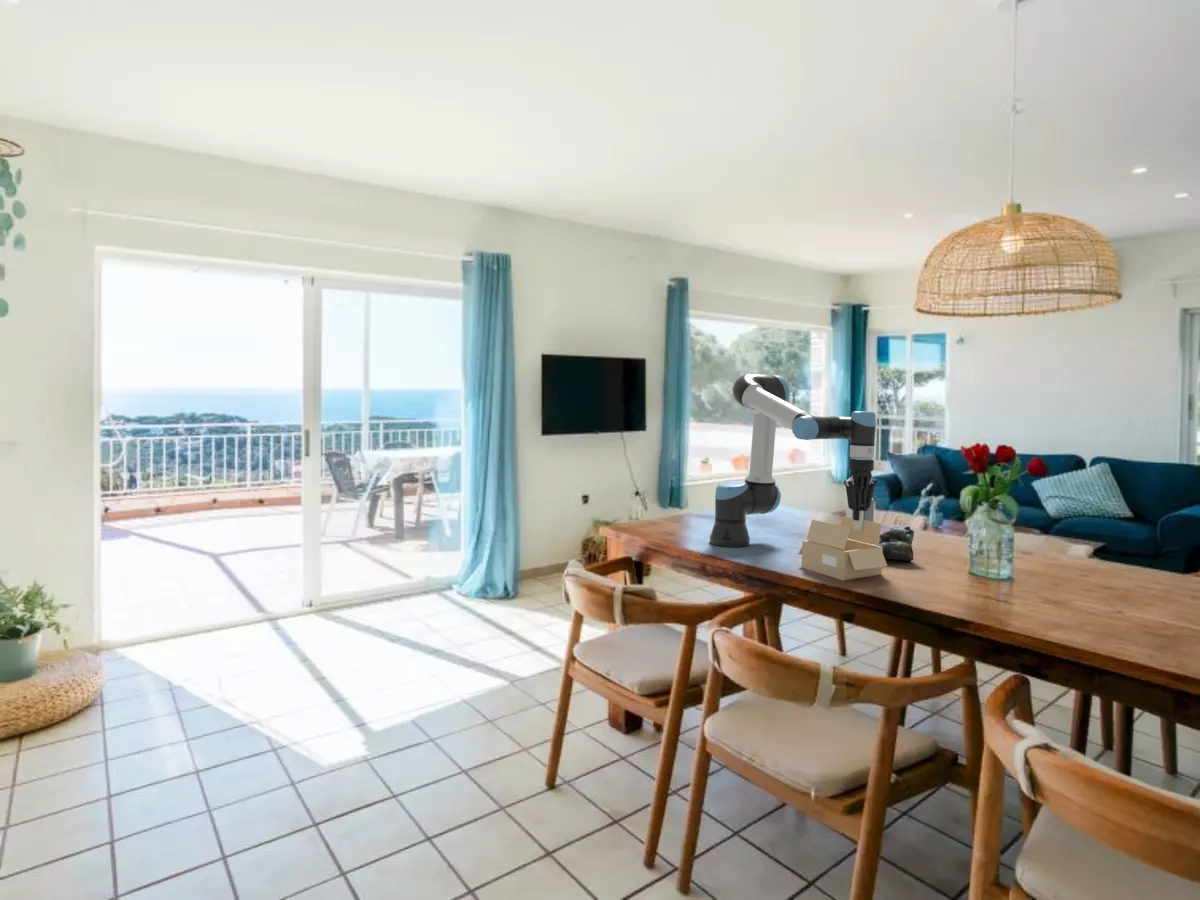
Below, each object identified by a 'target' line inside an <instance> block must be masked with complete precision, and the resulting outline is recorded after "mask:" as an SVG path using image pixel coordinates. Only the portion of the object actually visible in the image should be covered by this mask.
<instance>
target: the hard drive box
mask: <svg viewBox="0 0 1200 900" xmlns="http://www.w3.org/2000/svg"><path fill="white" fill-rule="evenodd" d="M867 509H868V510H867V511H865V515H864V520H866V521H871V522H874V512H875V510H874V509H875V499H874V498H873V497H872V500H871V505H870V508H867ZM845 510H846V511H845V512H846V513H845V516H846V517H851V518H853V510H851V508H849V506H848V499H847V498H846V509H845ZM847 539H849V538H847ZM851 540H853V539H851ZM855 541H858V540H855ZM860 542H862V541H860ZM864 543H866V542H864ZM868 544H870V543H868Z"/></svg>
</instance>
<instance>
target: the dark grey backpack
mask: <svg viewBox="0 0 1200 900" xmlns="http://www.w3.org/2000/svg"><path fill="white" fill-rule="evenodd" d="M914 537H915V531H914V529H911V526H905V527H900V526H893V527H889V529H887V530H885V531H882V532H881V533H880V539H879V545H876V546H880V547H883V556H884V558H885V560H896V561H903V562H907V563H911V562H912V561H914V550H913V548H912V547H913V545H912V544H913V540H914Z"/></svg>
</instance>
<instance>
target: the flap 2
mask: <svg viewBox="0 0 1200 900" xmlns="http://www.w3.org/2000/svg"><path fill="white" fill-rule="evenodd" d="M840 526H844V527H848V528H850V531H849V534H848V538H849V539H853V540H858V541H862V542H866V543H870V544H872V545H876V546H877V545H879V539H880V535H881V529H882V523H880V522H875V521H873V522H871V521H866V520H863V531H858V530H854V520H853V518H851V517H846V515H842V517H841V524H840Z"/></svg>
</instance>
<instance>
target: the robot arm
mask: <svg viewBox="0 0 1200 900" xmlns="http://www.w3.org/2000/svg"><path fill="white" fill-rule="evenodd" d="M732 396H733V398H734V399H735V401H736V403H738V404H739V405H741V406H742V407H744V408H746V409H750V410H751V412H752V413H753V420H752V421H753V422H752V423H753V425H752V433H751V435H752V436H751V437H752V438H751V446H750V448H751V450H750V462H749V473H748V475H747V476H746V477H745V479H744V481H740V480H738V481H737V480H735V481H732V480H731V481H725V482H721V483H719V484H717V486H716V488H715V494H714V497H715V499H714V500H715V507H714V508H715V509H714V525H713V526H712V530H711V533H710V535H709V543H710V544H711V545H714V546H719V547H727V548H730V547H731V548H739V547H740V548H741V547H747V546H750V544H751V540H750V534H749V531H748V528H747V524H746V523H747V517H746V516H748V515H749V516H750V515H764V514H765V515H766V514H767V513H772V512H774V511H775V510H776V509H777V508H778V507H779V505H780V503H781V498H782V497H781V496H782V494H781V493H782V492H781V491H780V488H779V486H778V485H777V484H776V479H775V478H774V477H773V466H774V455H775V454H774V452H775V440H776V431H777V430H776V429H777V423H779V424H780V425H782V426H784V427H786V428H788V429H790V430H791V431H792V434H793V435H794V437H795V438H797V439H798V440H805V441H810V440H849V441H850V444H849V457H850V458H849V460H848V462H849V463H848V465H849V466H848V469H849V470H850V474H849V478H847V479H844V481H843V484H844V486H845V489H846V500H847V499H848V506H849V508H851V510H853V520H854V530H858V531H863V520H864V515H865V511H867V510H868V509H867V508H870V505H871V500H872V498H873V496H874V490H875V487H876V484H877V483H878V480H877V479H874V478H873V475H872V472H874V468H875V467H874V466H875V465H874V464H875V460H874V458H875V445H876V443H875V440H876V430H877V429H876V428H877V415H876V413H875V412H874V411H862V410H861V411H858V410H857V411H856V410H855V411H852V412H851V416H839V415H830V416H815V415H813V414H810V413H808V412H806V411H805V410H803V409H801V408H799V407H797V406H795V405H793V404H791V403H789V402H787V401H788V400H789V398H790V388H789V384H788V382H787V381H786V379H784V378H783V377H782V376H780V375H777V374H776V375H775V374H755V373H754V374H751V373H749V374H744V375H741V376H740V377H738V378H737V379H736V380H735V381H734V384H733V387H732Z"/></svg>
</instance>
